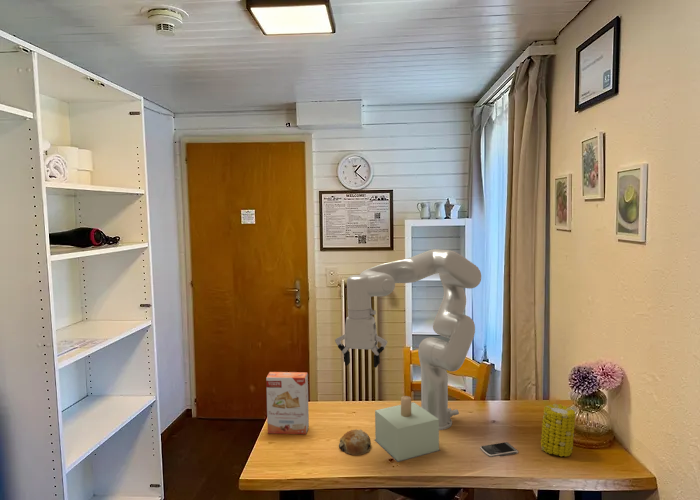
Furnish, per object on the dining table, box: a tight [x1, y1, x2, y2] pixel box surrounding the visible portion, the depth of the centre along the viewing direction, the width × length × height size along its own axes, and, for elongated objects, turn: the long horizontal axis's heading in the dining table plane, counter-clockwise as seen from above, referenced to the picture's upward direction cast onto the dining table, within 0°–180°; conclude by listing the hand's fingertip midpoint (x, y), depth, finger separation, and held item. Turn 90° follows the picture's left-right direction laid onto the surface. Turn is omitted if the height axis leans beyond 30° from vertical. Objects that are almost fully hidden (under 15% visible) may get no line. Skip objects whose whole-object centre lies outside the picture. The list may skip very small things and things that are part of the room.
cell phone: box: [479, 441, 519, 458], centre depth 153 cm, size 6×11×1 cm, turn 105°
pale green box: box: [374, 395, 440, 462], centre depth 157 cm, size 15×15×16 cm
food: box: [540, 403, 576, 458], centre depth 152 cm, size 15×12×10 cm
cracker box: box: [265, 371, 310, 435], centre depth 169 cm, size 14×6×21 cm, turn 86°
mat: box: [374, 439, 441, 463], centre depth 157 cm, size 16×16×1 cm
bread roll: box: [338, 428, 372, 456], centre depth 156 cm, size 10×10×8 cm
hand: (361, 365), depth 154 cm, fingers open, 9 cm apart
